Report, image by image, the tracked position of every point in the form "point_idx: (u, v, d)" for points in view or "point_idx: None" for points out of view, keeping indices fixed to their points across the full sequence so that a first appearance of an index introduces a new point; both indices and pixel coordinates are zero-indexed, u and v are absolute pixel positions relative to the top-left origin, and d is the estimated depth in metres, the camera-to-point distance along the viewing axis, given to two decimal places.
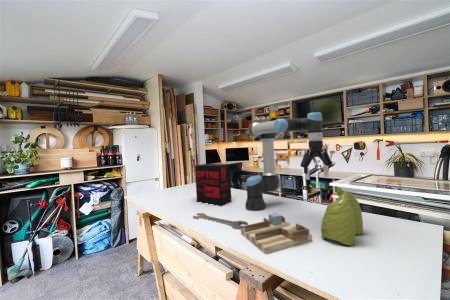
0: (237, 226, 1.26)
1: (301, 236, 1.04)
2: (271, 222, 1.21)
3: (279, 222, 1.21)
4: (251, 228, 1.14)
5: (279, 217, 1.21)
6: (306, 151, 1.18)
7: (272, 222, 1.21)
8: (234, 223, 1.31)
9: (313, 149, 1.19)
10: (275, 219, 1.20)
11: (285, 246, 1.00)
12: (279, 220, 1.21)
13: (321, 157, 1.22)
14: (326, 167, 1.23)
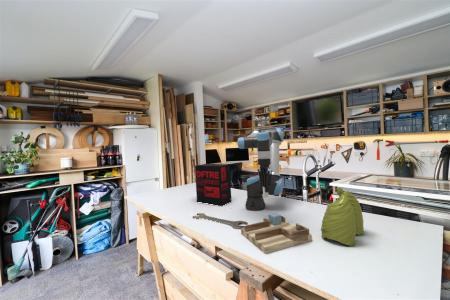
0: (237, 226, 1.26)
1: (301, 236, 1.04)
2: (271, 222, 1.21)
3: (279, 222, 1.21)
4: (251, 228, 1.14)
5: (279, 217, 1.21)
6: None
7: (272, 222, 1.21)
8: (234, 223, 1.31)
9: None
10: (275, 219, 1.20)
11: (285, 246, 1.00)
12: (279, 220, 1.21)
13: None
14: None
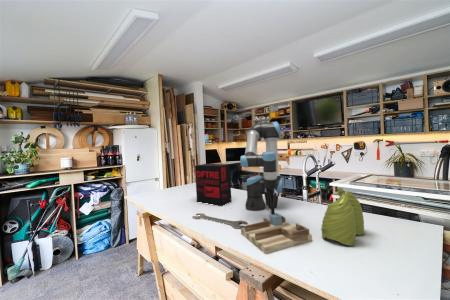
0: (237, 226, 1.26)
1: (301, 236, 1.04)
2: (272, 222, 1.21)
3: (280, 222, 1.20)
4: (251, 228, 1.14)
5: (280, 217, 1.20)
6: None
7: (273, 222, 1.20)
8: (234, 223, 1.31)
9: (265, 186, 1.27)
10: (276, 219, 1.19)
11: (285, 246, 1.00)
12: (280, 220, 1.20)
13: None
14: None
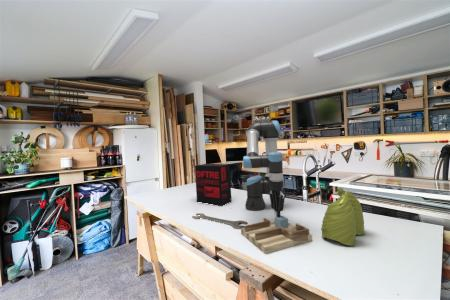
0: (237, 226, 1.26)
1: (301, 236, 1.04)
2: (277, 226, 1.16)
3: (286, 226, 1.15)
4: (251, 228, 1.14)
5: (286, 220, 1.15)
6: None
7: (278, 226, 1.15)
8: (234, 223, 1.31)
9: (271, 188, 1.22)
10: (282, 222, 1.14)
11: (285, 246, 1.00)
12: (286, 224, 1.15)
13: None
14: None
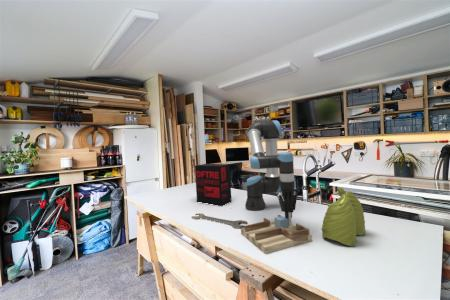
0: (237, 225, 1.27)
1: (301, 236, 1.04)
2: (277, 226, 1.16)
3: (286, 226, 1.15)
4: (251, 228, 1.14)
5: (286, 221, 1.15)
6: None
7: (278, 226, 1.15)
8: (234, 223, 1.32)
9: None
10: (281, 223, 1.14)
11: (285, 246, 1.00)
12: (286, 224, 1.15)
13: None
14: None
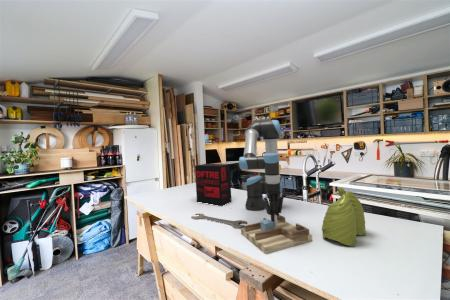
0: (237, 225, 1.27)
1: (301, 236, 1.04)
2: (263, 229, 1.12)
3: (271, 229, 1.11)
4: (251, 228, 1.14)
5: (271, 224, 1.11)
6: None
7: (263, 229, 1.11)
8: (234, 223, 1.32)
9: None
10: (266, 226, 1.10)
11: (285, 246, 1.00)
12: (271, 227, 1.11)
13: None
14: None
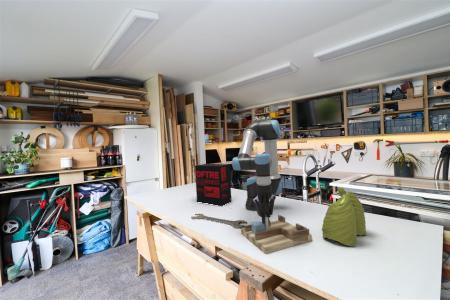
0: (238, 225, 1.27)
1: (301, 236, 1.04)
2: (253, 231, 1.10)
3: None
4: (251, 228, 1.14)
5: (262, 226, 1.09)
6: None
7: (254, 231, 1.10)
8: (234, 222, 1.32)
9: None
10: (257, 228, 1.08)
11: (285, 246, 1.00)
12: (262, 230, 1.09)
13: None
14: None
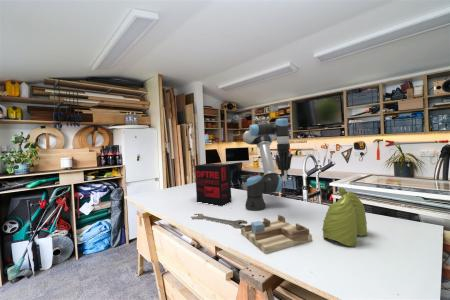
0: (238, 225, 1.27)
1: (301, 236, 1.04)
2: (253, 231, 1.10)
3: None
4: (251, 228, 1.14)
5: (262, 226, 1.09)
6: None
7: (254, 231, 1.10)
8: (234, 222, 1.32)
9: None
10: (257, 228, 1.08)
11: (285, 246, 1.00)
12: (262, 230, 1.09)
13: None
14: None
